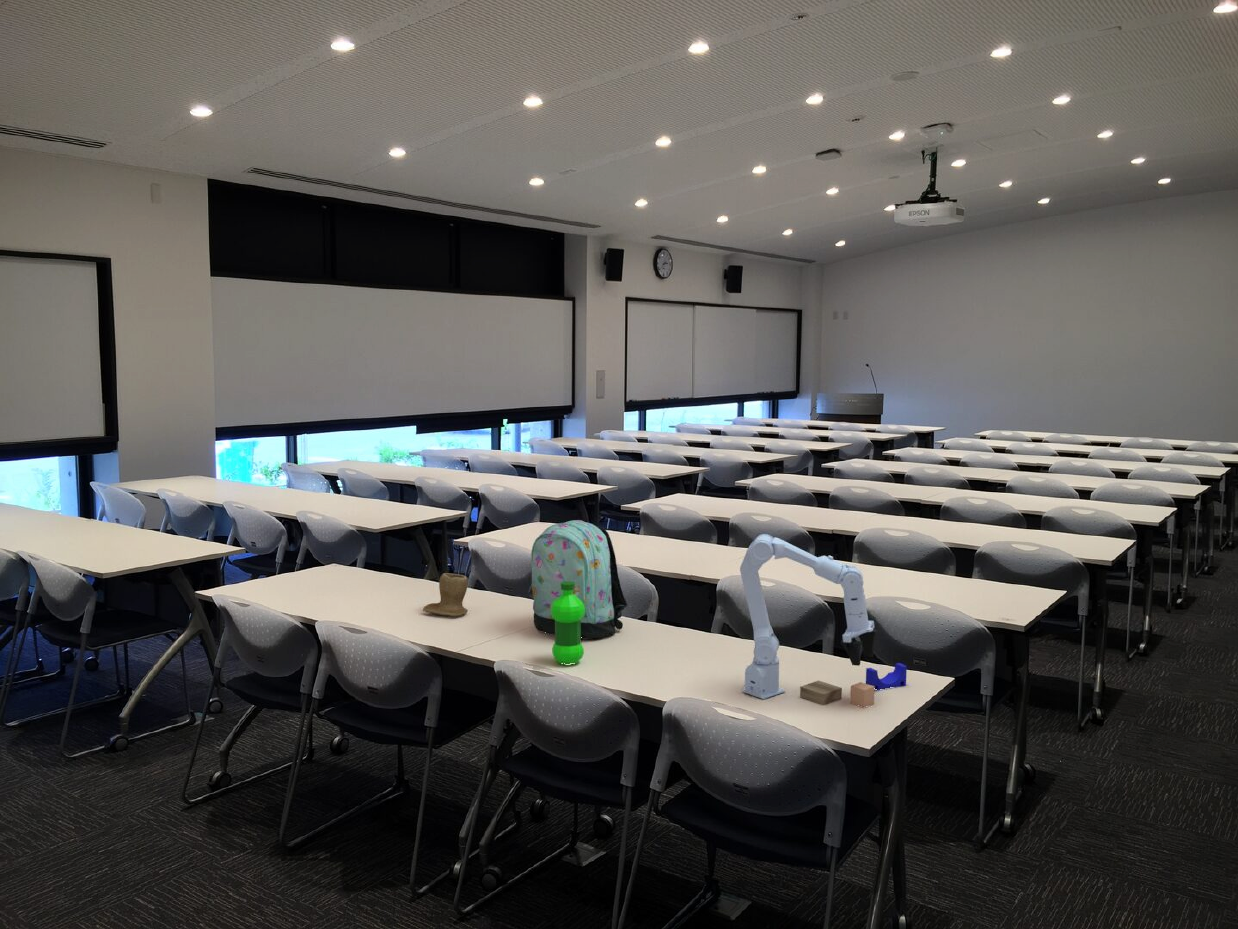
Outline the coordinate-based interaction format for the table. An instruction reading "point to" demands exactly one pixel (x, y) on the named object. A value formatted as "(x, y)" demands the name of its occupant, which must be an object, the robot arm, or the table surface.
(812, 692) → the olive block
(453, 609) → the brown boot
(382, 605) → the table surface
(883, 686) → the blue cradle block
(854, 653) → the robot arm
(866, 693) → the light tan block
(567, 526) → the backpack
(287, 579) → the table surface
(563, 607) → the plastic bottle
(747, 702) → the table surface
